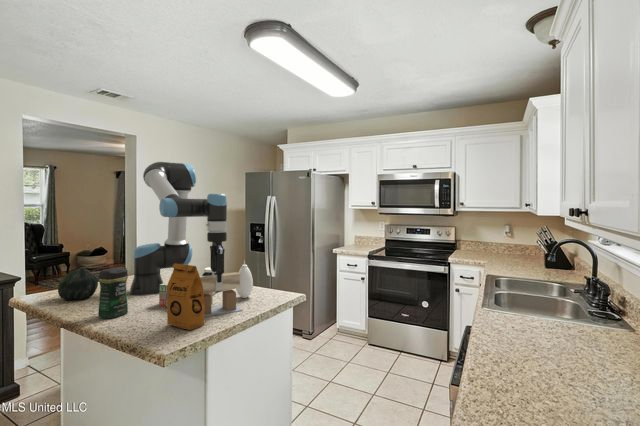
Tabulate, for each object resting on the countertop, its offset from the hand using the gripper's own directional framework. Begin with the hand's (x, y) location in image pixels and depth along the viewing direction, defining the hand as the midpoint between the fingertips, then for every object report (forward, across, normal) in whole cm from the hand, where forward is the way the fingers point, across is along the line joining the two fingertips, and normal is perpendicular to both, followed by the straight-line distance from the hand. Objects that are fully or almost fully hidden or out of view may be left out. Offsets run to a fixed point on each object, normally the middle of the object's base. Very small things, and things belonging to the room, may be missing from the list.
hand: (217, 288), depth 135 cm
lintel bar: (+1, 0, 0) cm, 1 cm away
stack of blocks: (+9, -15, -9) cm, 20 cm away
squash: (+9, -51, -50) cm, 72 cm away
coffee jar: (+9, -15, -36) cm, 40 cm away
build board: (+9, 0, 0) cm, 9 cm away
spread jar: (+9, -31, +5) cm, 32 cm away
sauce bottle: (+9, -14, +16) cm, 23 cm away
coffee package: (+9, +11, -14) cm, 20 cm away
